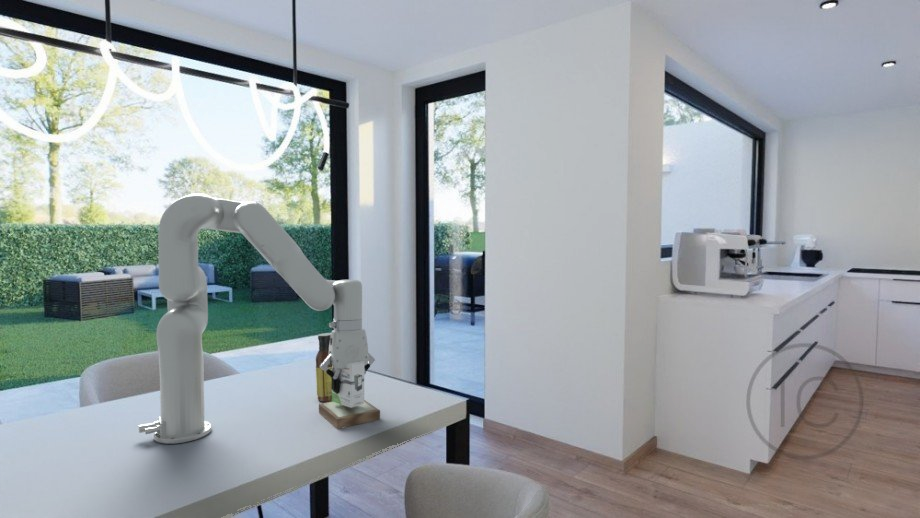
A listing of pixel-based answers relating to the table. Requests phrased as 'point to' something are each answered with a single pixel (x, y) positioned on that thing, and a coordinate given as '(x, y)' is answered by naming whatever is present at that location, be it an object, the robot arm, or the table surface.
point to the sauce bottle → (321, 376)
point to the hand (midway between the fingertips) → (348, 389)
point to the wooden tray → (348, 414)
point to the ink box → (351, 385)
